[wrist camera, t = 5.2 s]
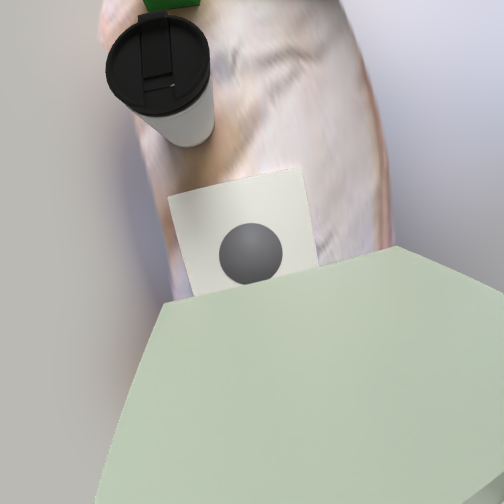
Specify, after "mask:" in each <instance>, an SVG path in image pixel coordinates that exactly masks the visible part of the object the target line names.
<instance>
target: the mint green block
mask: <svg viewBox="0 0 504 504" xmlns="http://www.w3.org/2000/svg"><path fill="white" fill-rule="evenodd" d="M503 501H504V294H503V293H501V292H499V291H497V290H495V289H493V288H491V287H489V286H487V285H485V284H483V283H481V282H479V281H476V280H474V279H472V278H470V277H468V276H466V275H463V274H461V273H459V272H457V271H455V270H453V269H450V268H448V267H446V266H443V265H441V264H439V263H437V262H434V261H432V260H430V259H428V258H425V257H423V256H420V255H418V254H416V253H413V252H411V251H408V250H406V249H404V248H401V247H399V246H394V247H390V248H386V249H383V250H379V251H376V252H372V253H368V254H365V255H361V256H357V257H354V258H350V259H346V260H342V261H339V262H335V263H331V264H327V265H323V266H319V267H316V268H312V269H308V270H304V271H300V272H296V273H292V274H288V275H284V276H280V277H276V278H272V279H268V280H264V281H260V282H255V283H251V284H247V285H243V286H239V287H234V288H230V289H226V290H222V291H217V292H213V293H208V294H204V295H200V296H195V297H191V298H186V299H182V300H177V301H172V302H168V303H164V305H163V307H162V309H161V311H160V314H159V316H158V319H157V321H156V323H155V326H154V329H153V331H152V333H151V336H150V339H149V341H148V343H147V346H146V348H145V351H144V354H143V356H142V359H141V361H140V364H139V367H138V369H137V372H136V374H135V377H134V380H133V383H132V385H131V388H130V391H129V393H128V396H127V399H126V402H125V405H124V407H123V410H122V413H121V416H120V419H119V422H118V425H117V428H116V431H115V434H114V437H113V440H112V443H111V446H110V450H109V452H108V456H107V459H106V463H105V465H104V469H103V472H102V475H101V479H100V482H99V486H98V490H97V493H96V497H95V500H94V504H501V503H502V502H503Z"/></svg>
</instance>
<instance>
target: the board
mask: <svg viewBox="0 0 504 504" xmlns="http://www.w3.org/2000/svg"><path fill="white" fill-rule="evenodd" d="M167 199H168V203H169V207H170V211H171V215H172V219H173V223H174V227H175V231H176V235H177V239H178V242H179V246H180V250H181V254H182V257H183V261H184V264H185V268H186V271H187V275H188V278H189V282H190V285H191V289H192V292H193V295H194V297H195V296H200V295H204V294H208V293H213V292H217V291H222V290H226V289H230V288H234V287H239V286H243V285H247V284H251V283H255V282H260V281H264V280H268V279H272V278H276V277H280V276H284V275H288V274H292V273H296V272H300V271H304V270H308V269H312V268H316V267H319V264H318V258H317V251H316V245H315V239H314V233H313V227H312V221H311V216H310V210H309V205H308V199H307V194H306V189H305V184H304V179H303V174H302V169H301V167H297V168H292V169H286V170H281V171H276V172H271V173H266V174H261V175H256V176H251V177H247V178H242V179H238V180H233V181H229V182H224V183H220V184H216V185H211V186H207V187H203V188H199V189H195V190H191V191H187V192H183V193H179V194H175V195H172V196H168V197H167Z"/></svg>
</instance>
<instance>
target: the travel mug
mask: <svg viewBox="0 0 504 504" xmlns="http://www.w3.org/2000/svg"><path fill="white" fill-rule="evenodd" d="M105 73H106V78H107V83H108V85H109V87H110V89H111V91H112V92H113V93H114V95H115V96H116V97H117V98H118V99H119V100H121V101H122V102H123V103H125V105H126V106H127V107H128V108H129V109H130V110H132V111H133V112H134V113H135V114H137V115H138V116H139V117H140V118H142V119H143V120H144V121H145V122H147V123H148V124H149V125H150V126H151V127H153V128H154V129H155V130H156V131H158V132H159V133H160V134H161V135H163V136H164V137H165V138H166V139H167V140H169V141H170V142H171V143H172V144H174V145H176V146H179V147H184V148H190V147H195V146H198V145H200V144H202V143H203V142H204V141H206V140H207V139H208V138H209V136H210V135H211V133H212V131H213V129H214V124H215V117H214V102H213V87H212V71H211V63H210V52H209V46H208V42H207V39H206V37H205V36H204V34H203V32H202V31H201V30H200V29H199V28H198V27H197V26H196V25H195V24H193V23H192V22H191V21H188V20H186V19H184V18H181V17H177V16H170V15H168V14H167V10H166V9H165V10H159V11H154V12H150V13H146V14H142V15H139V16H138V22H137V23H136V24H134V25H132V26H131V27H129V28H128V29H126V30H125V31H124V32H123V33H122V34H121V35H120V36H119V37H118V38H117V40H116V41H115V43H114V44H113V45H112V48H111V50H110V52H109V54H108V57H107V61H106V72H105Z"/></svg>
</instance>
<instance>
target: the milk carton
mask: <svg viewBox="0 0 504 504" xmlns="http://www.w3.org/2000/svg"><path fill="white" fill-rule="evenodd" d="M143 2H144V4H145V6H146V8H147V10H148V12H154V11H159V10H165V9H173V8H180V7H188V6H197V5H200V0H143Z"/></svg>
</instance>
